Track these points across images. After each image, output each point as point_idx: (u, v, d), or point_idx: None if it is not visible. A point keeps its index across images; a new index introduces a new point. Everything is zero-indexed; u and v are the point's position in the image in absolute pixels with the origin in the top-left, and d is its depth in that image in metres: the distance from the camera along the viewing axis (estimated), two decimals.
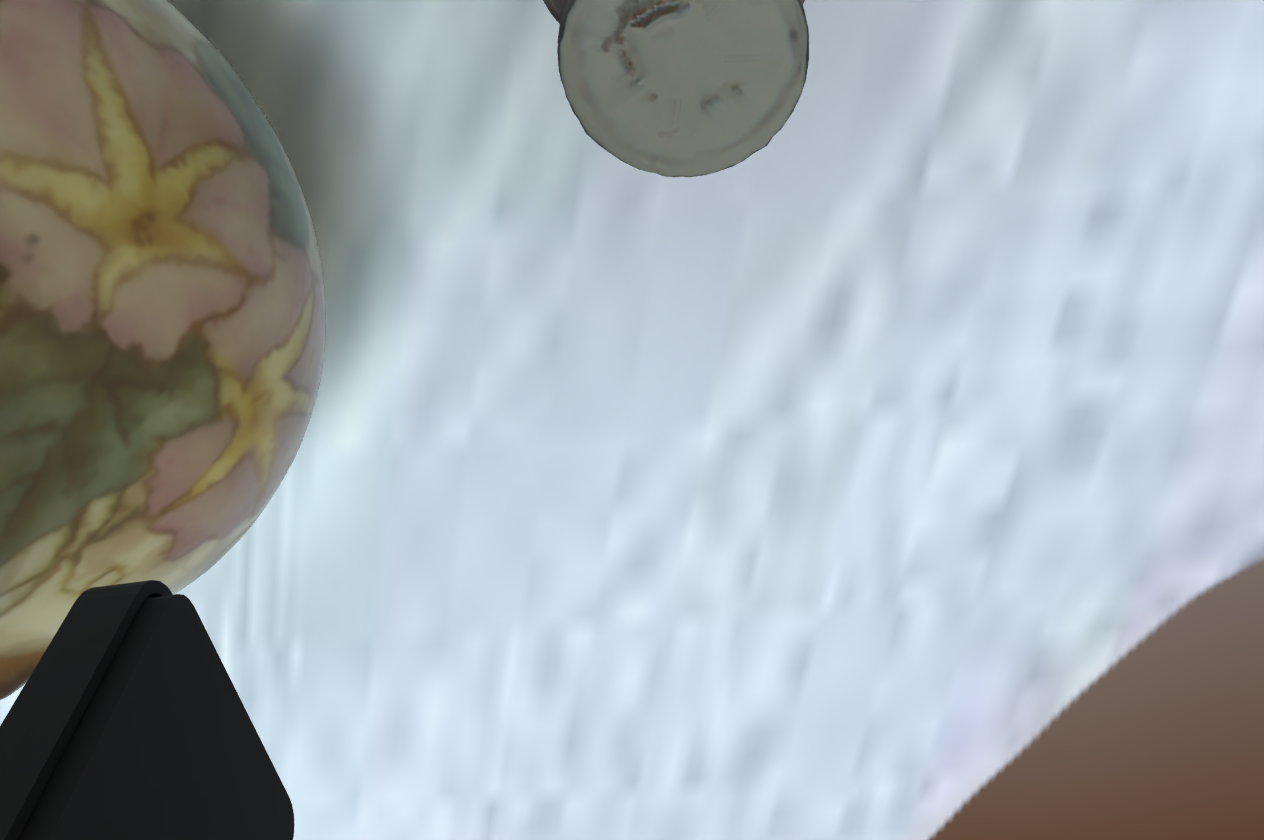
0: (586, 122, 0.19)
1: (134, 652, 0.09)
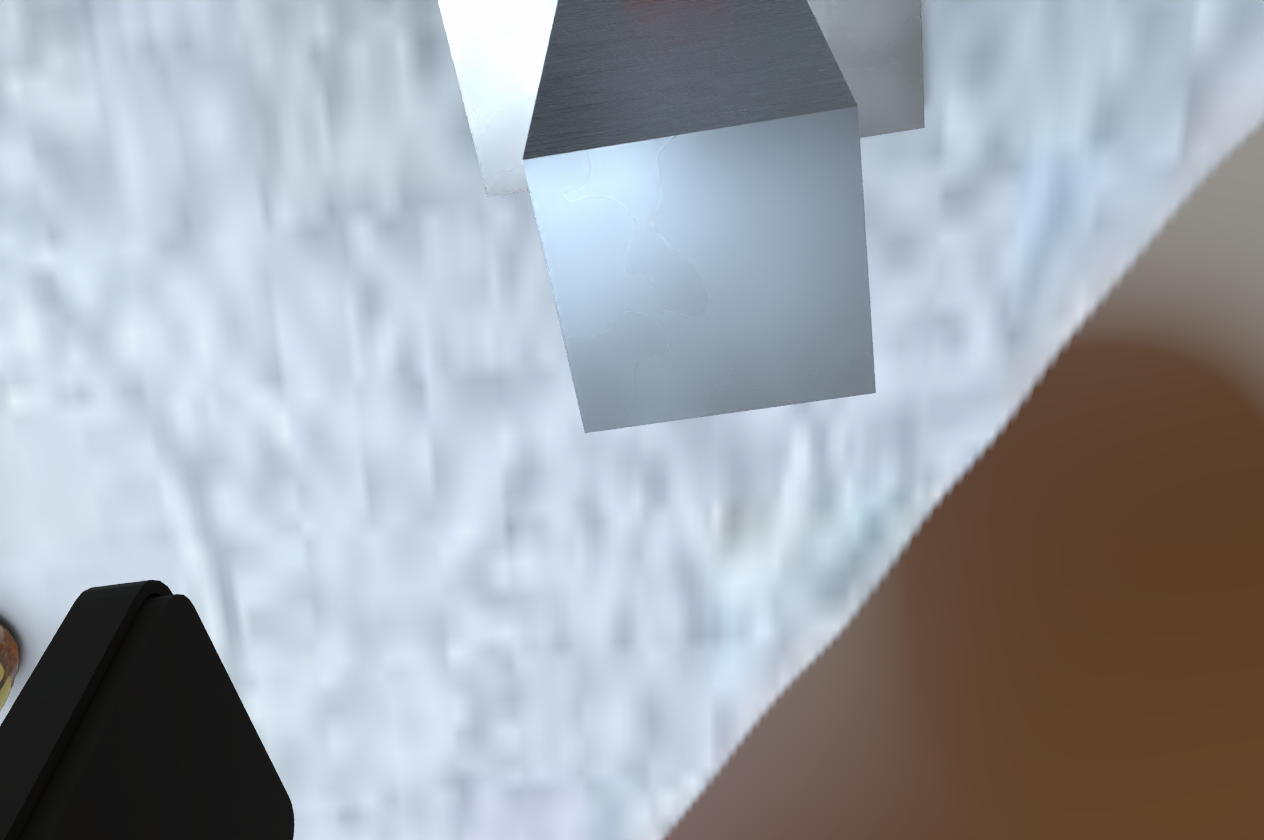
0: None
1: (134, 652, 0.09)
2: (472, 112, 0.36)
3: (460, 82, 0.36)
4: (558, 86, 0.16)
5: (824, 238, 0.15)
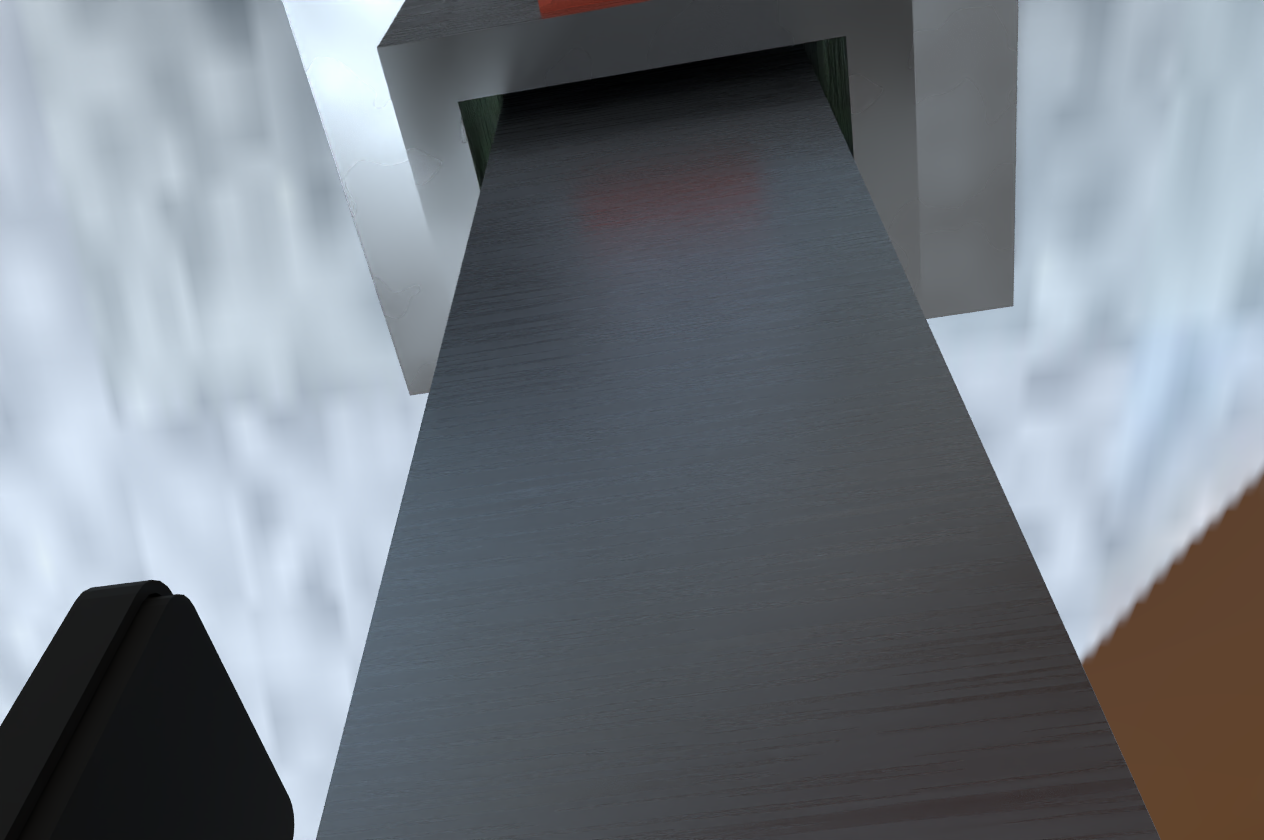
0: None
1: (134, 652, 0.09)
2: (384, 289, 0.26)
3: (366, 251, 0.25)
4: (371, 832, 0.06)
5: None
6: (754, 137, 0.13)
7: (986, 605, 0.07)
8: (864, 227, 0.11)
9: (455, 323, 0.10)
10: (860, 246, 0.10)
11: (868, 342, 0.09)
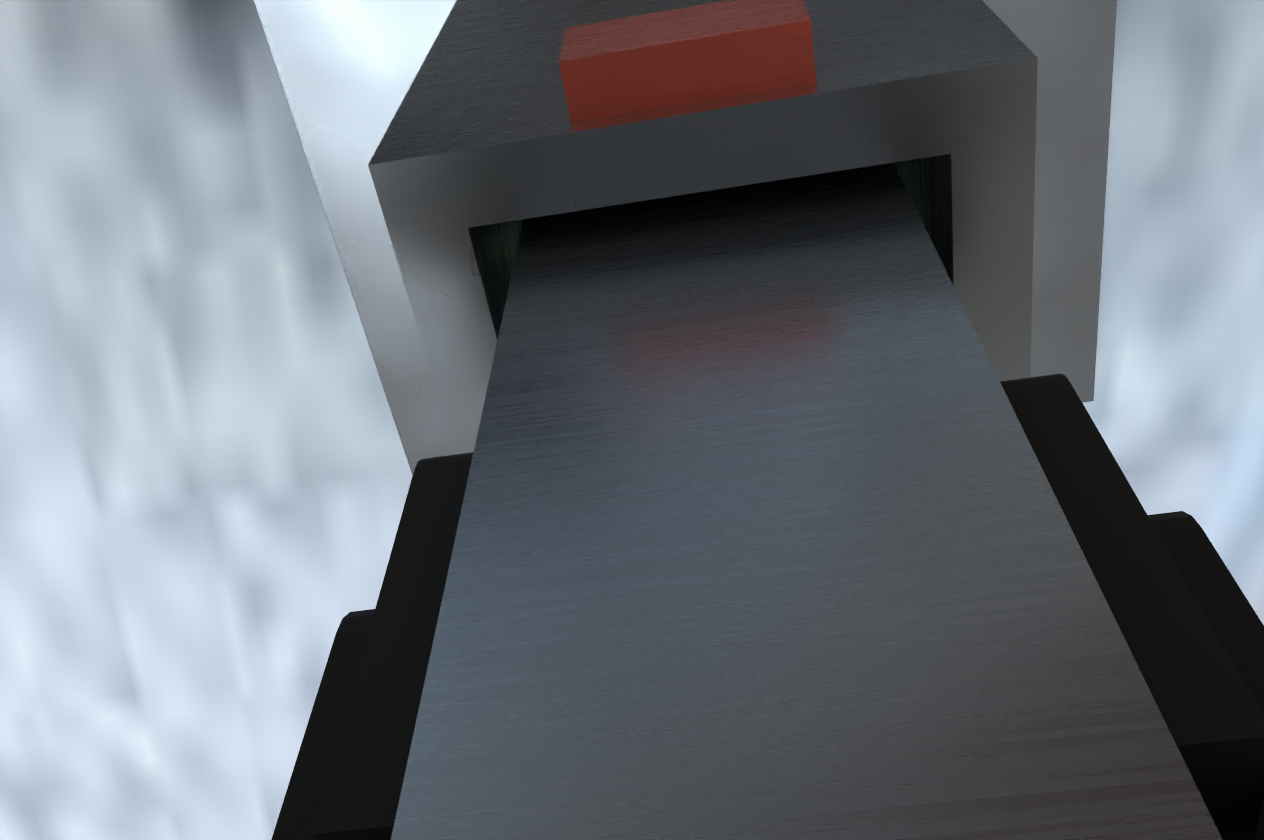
0: None
1: None
2: (389, 377, 0.23)
3: (369, 336, 0.23)
4: None
5: None
6: (843, 292, 0.10)
7: None
8: (1009, 460, 0.08)
9: (456, 590, 0.08)
10: (1009, 493, 0.08)
11: (1048, 682, 0.06)
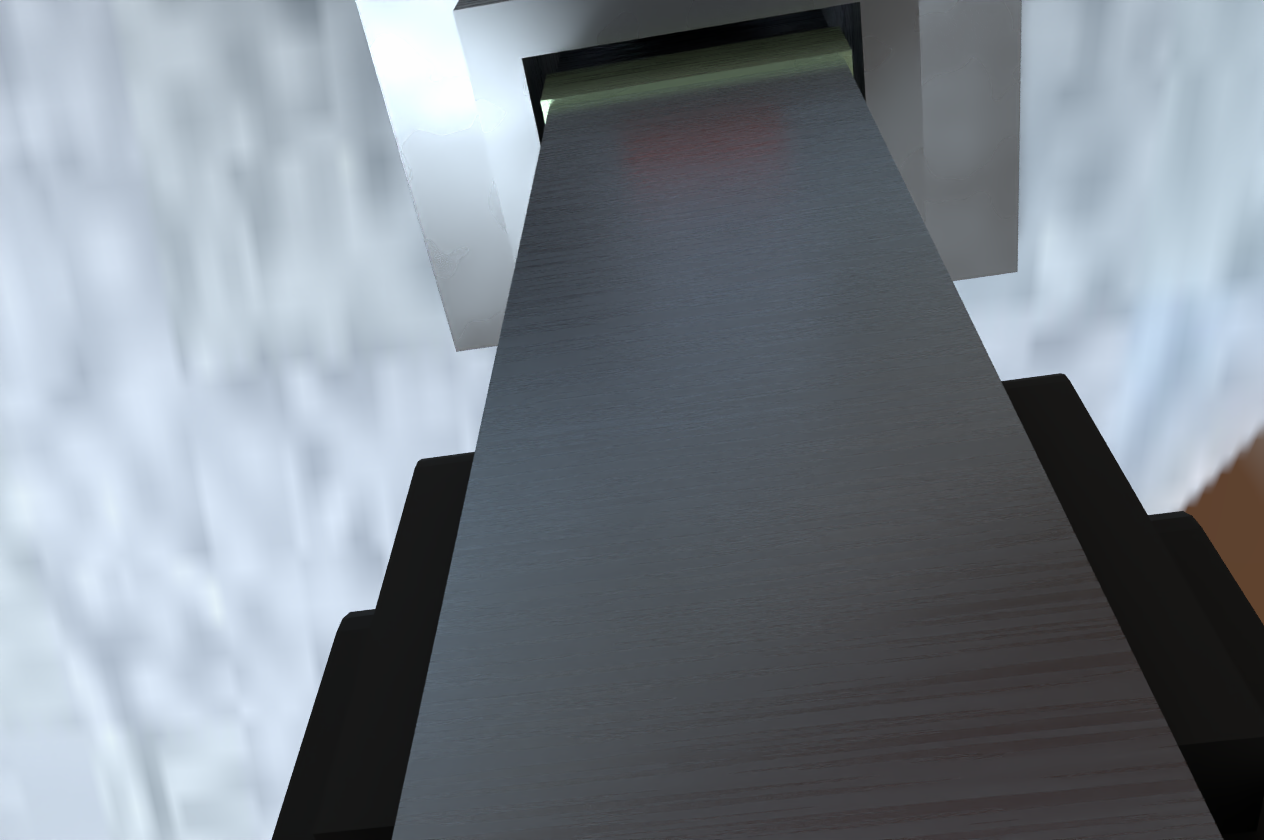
0: None
1: None
2: (435, 251, 0.28)
3: (419, 215, 0.28)
4: None
5: None
6: (844, 292, 0.10)
7: None
8: (1011, 460, 0.08)
9: (457, 589, 0.08)
10: (1010, 493, 0.08)
11: (1048, 682, 0.06)
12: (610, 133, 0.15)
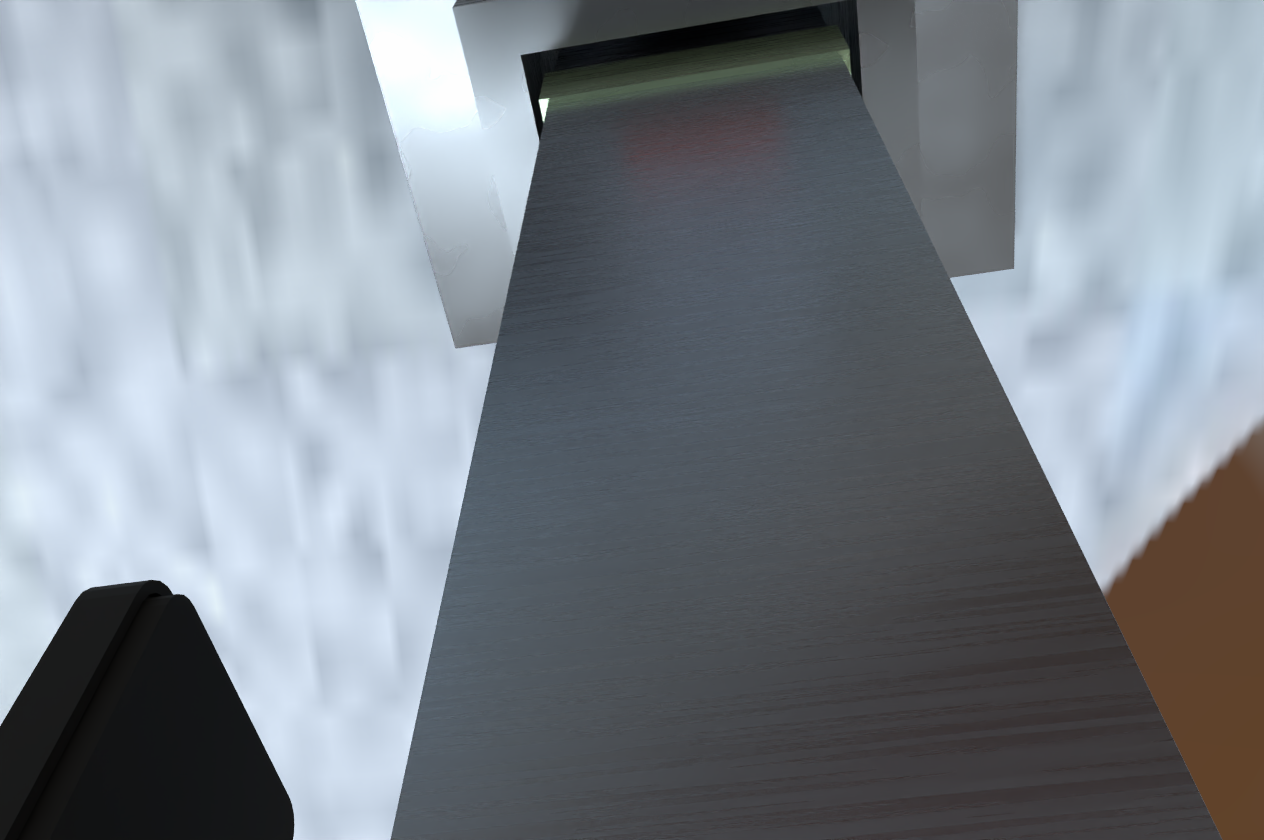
0: None
1: (135, 652, 0.09)
2: (434, 248, 0.28)
3: (418, 212, 0.28)
4: None
5: None
6: (842, 289, 0.10)
7: None
8: (1008, 455, 0.08)
9: (457, 585, 0.08)
10: (1007, 489, 0.08)
11: (1046, 679, 0.06)
12: (608, 132, 0.15)
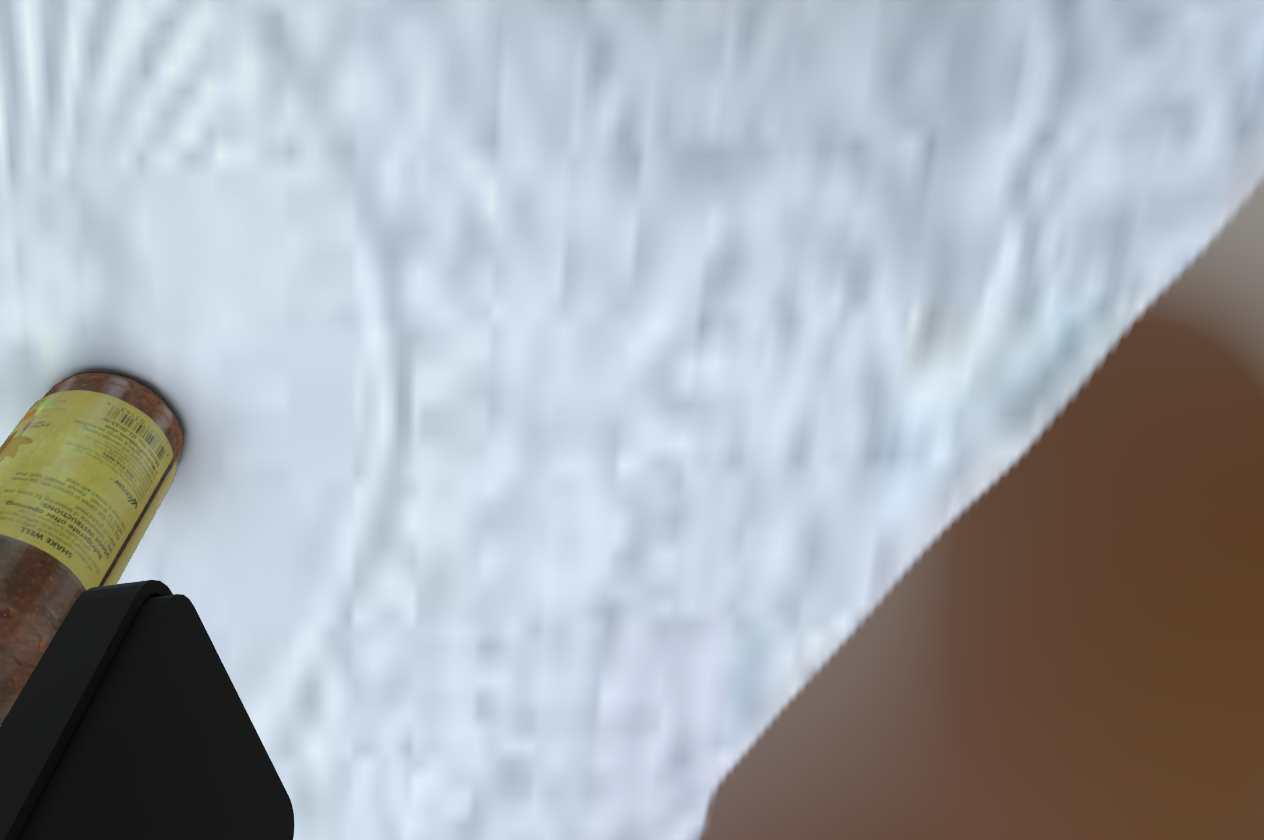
0: None
1: (134, 652, 0.09)
2: None
3: None
4: None
5: None
6: None
7: None
8: None
9: None
10: None
11: None
12: None
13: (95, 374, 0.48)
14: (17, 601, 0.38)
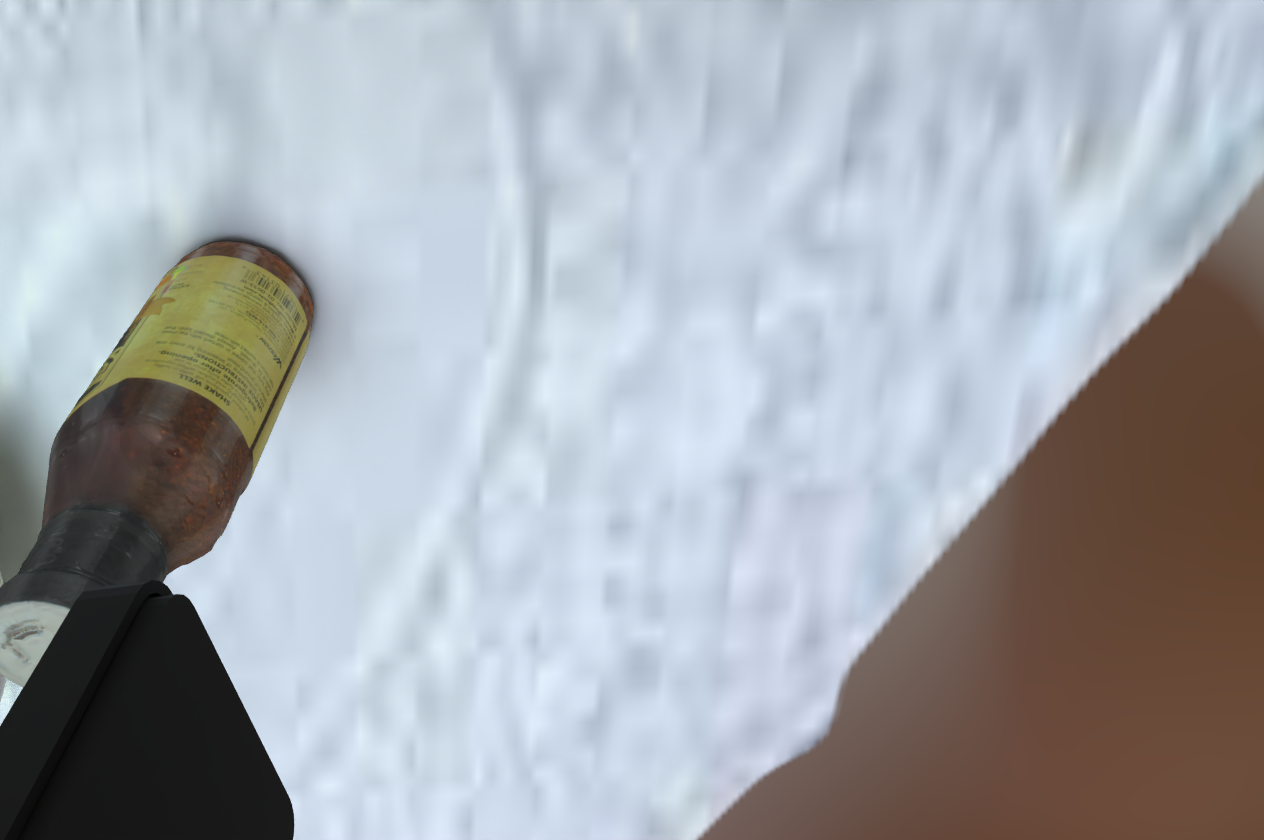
0: None
1: (135, 652, 0.09)
2: None
3: None
4: None
5: None
6: None
7: None
8: None
9: None
10: None
11: None
12: None
13: (225, 242, 0.47)
14: (185, 441, 0.37)
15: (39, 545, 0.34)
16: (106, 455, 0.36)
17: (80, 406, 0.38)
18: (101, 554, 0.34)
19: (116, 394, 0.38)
